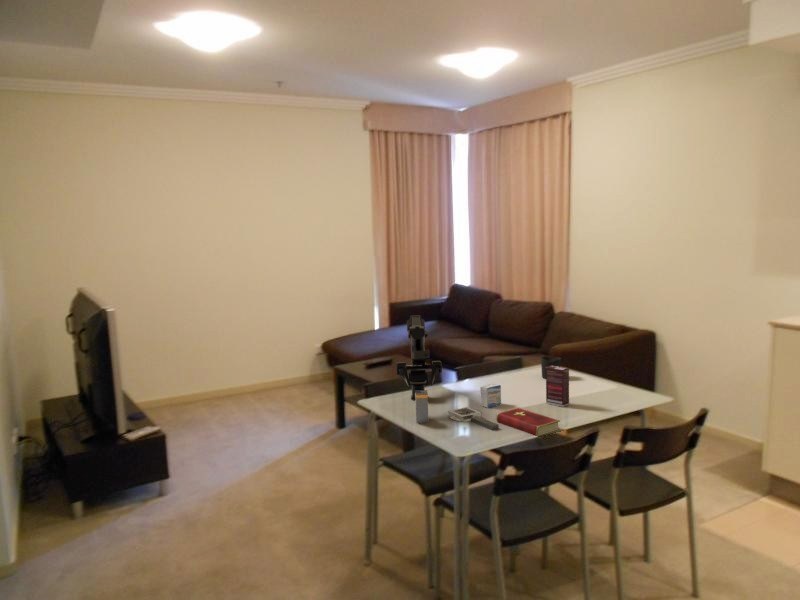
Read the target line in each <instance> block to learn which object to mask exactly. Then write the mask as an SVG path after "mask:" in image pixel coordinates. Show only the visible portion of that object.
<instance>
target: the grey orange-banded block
mask: <svg viewBox="0 0 800 600" xmlns="http://www.w3.org/2000/svg"><path fill="white" fill-rule="evenodd" d="M428 399H429V395H428V390H427V389H425V390H415V399H414V400H415V422H416V424H417V423H419V424H429V401H428Z"/></svg>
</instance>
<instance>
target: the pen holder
mask: <svg viewBox="0 0 800 600" xmlns="http://www.w3.org/2000/svg"><path fill="white" fill-rule="evenodd" d="M540 359H541V360H540V361H541V362H540V363H541V378H542V379H544V380H546V367H548V366H558V367H562V366H561V365H562V364H561V362H562V357H559V356H555V357H550V356H546V355H545V356H542V357H540Z"/></svg>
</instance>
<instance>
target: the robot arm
mask: <svg viewBox="0 0 800 600" xmlns="http://www.w3.org/2000/svg"><path fill="white" fill-rule="evenodd" d="M409 317H410V318H408V319H407V320H406V332H407V336H408V339H409V341H410V355H411V364H409V365H408V364H407V363H406V362H405V361H400V362H399V361H397V362H396V364H395V367H396V369H395V370H396V375H397V376H398V375H399V376H400V377H402V378H403V380H404V381H405V383H406V385H407V386H408V387H411V394H410V400H415V390H426V388H425V386H428V385H429V384H430V385H431V386H433V383H434V381H435V378H436V376H438V375H439V374H441V373H442V372H443V371H442V370H443V362H442V361H441V360H432V361H431V364H427V358H430V349H428V348H426V347H425V339H427V337H429V335H428V331H427V329H425V328H426V327H425V326H426V324H425V319H423V318H422V316H421V315H419V314H418V315H417V314H416V315H410V316H409ZM425 348H426V349H425ZM426 370H431V374H430V375H431V377H430V375H429V373H428V371H426ZM408 371H409V372H408ZM429 378H430V379H429Z"/></svg>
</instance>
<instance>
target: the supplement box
mask: <svg viewBox="0 0 800 600" xmlns="http://www.w3.org/2000/svg"><path fill="white" fill-rule="evenodd" d="M545 390H546V391H545V399H546V401H545V403H546V404H547V405H551V406H552V405H553V406H556V407H557V406H558V407H561V408H562V407H563V408H565V407H567V406H569V405H570V368H569V367H563V366H561V367H558V366H548V367H546V379H545Z"/></svg>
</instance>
